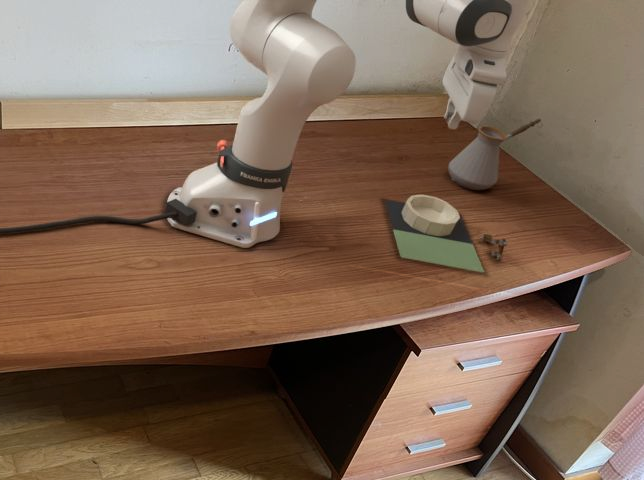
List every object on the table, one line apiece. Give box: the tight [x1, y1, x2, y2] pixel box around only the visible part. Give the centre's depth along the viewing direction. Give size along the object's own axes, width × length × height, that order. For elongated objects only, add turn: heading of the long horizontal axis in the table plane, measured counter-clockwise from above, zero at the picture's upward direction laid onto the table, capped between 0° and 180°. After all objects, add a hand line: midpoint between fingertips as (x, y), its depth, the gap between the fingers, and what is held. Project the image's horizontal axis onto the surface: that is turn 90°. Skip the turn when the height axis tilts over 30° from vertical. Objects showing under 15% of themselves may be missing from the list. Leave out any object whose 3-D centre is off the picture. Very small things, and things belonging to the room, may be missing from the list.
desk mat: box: [384, 199, 485, 273], centre depth 148 cm, size 17×22×1 cm
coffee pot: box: [448, 118, 544, 191], centre depth 166 cm, size 21×12×15 cm, turn 119°
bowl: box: [402, 194, 460, 236], centre depth 150 cm, size 11×11×3 cm
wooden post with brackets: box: [481, 233, 508, 262], centre depth 146 cm, size 2×8×4 cm, turn 1°
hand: (449, 124), depth 148 cm, fingers closed
